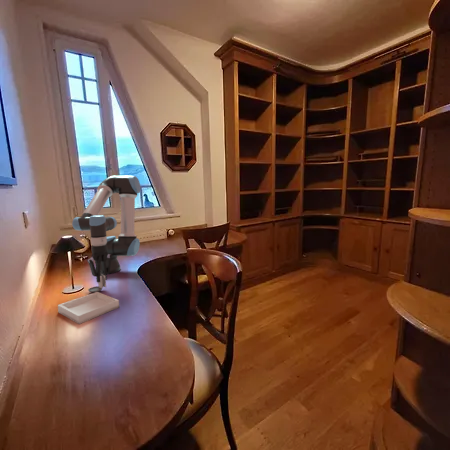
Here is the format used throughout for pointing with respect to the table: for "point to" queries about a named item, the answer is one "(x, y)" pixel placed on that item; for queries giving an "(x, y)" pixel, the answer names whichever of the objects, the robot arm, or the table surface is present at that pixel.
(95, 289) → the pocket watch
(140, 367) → the table surface
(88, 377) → the table surface
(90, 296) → the tray
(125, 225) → the robot arm
